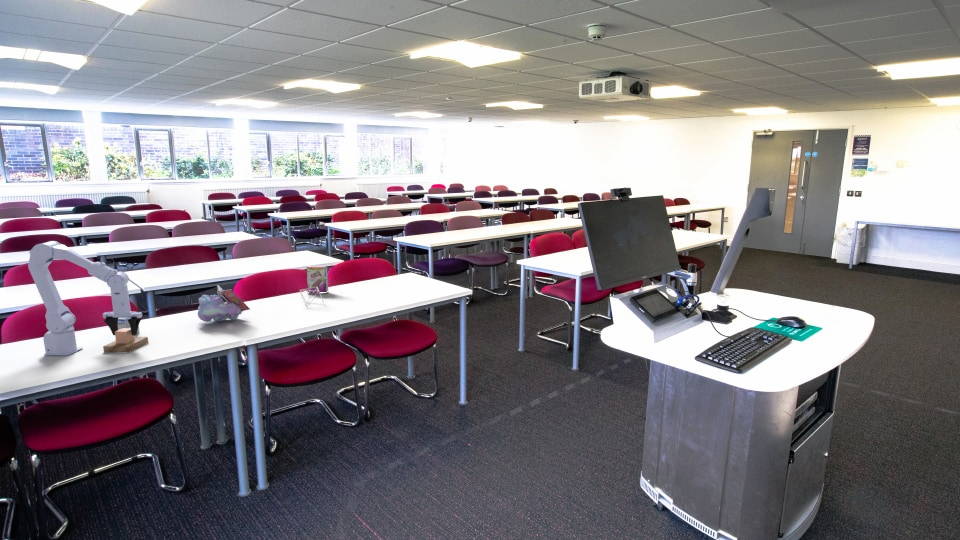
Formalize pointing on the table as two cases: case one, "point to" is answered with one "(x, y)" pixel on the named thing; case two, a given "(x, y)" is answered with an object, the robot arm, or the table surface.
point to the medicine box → (124, 323)
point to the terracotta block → (124, 336)
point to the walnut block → (125, 345)
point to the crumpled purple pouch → (221, 306)
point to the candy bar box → (317, 278)
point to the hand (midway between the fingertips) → (125, 334)
